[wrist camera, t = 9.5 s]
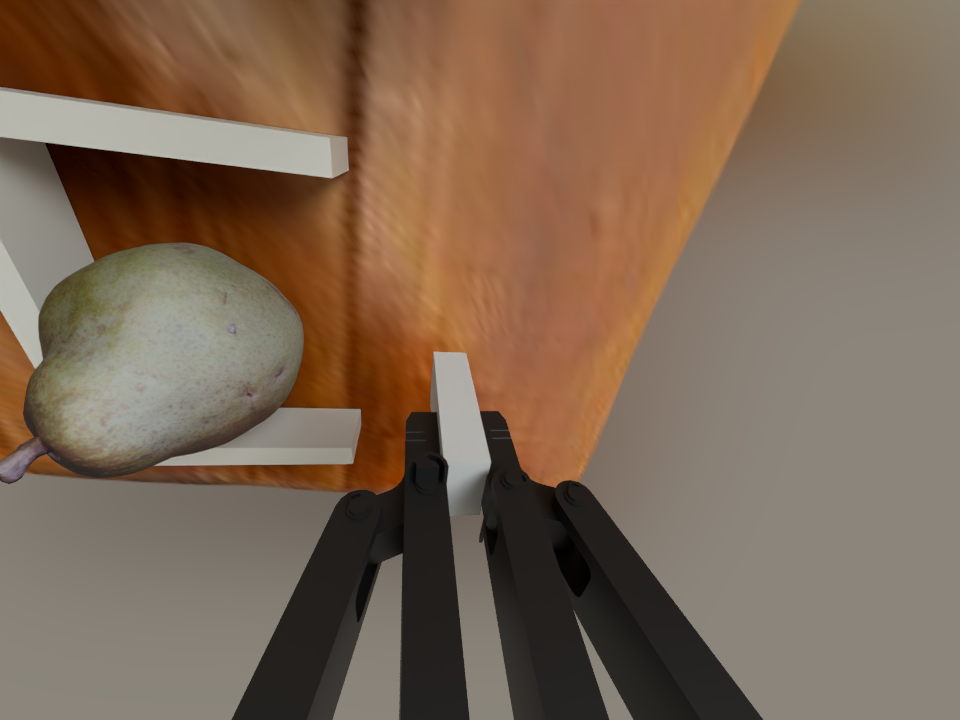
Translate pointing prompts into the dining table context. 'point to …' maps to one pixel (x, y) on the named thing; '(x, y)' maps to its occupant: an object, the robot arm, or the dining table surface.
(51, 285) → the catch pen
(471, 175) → the dining table surface
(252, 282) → the fruit
